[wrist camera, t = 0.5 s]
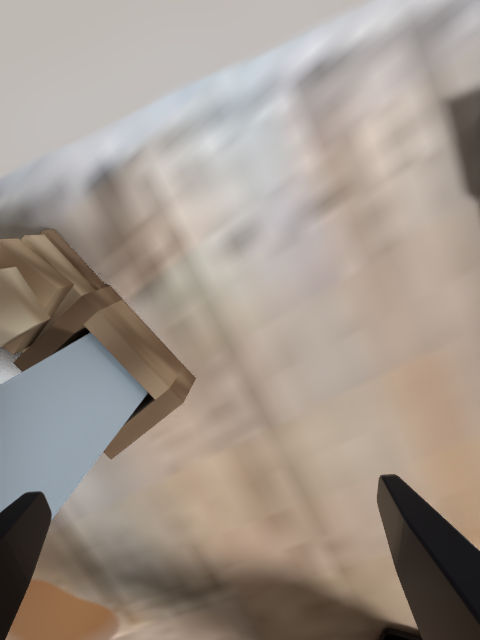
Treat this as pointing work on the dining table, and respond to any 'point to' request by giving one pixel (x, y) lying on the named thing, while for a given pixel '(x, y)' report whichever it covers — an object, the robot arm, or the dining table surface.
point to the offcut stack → (34, 289)
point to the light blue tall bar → (62, 420)
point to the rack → (116, 349)
